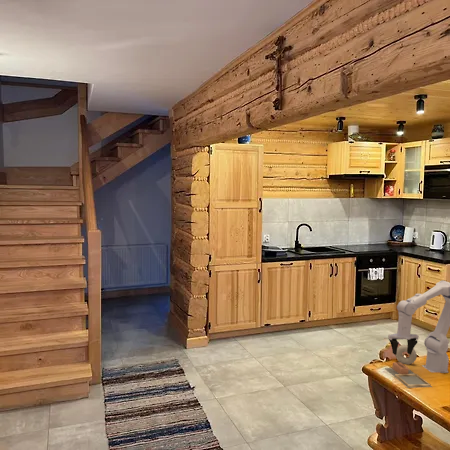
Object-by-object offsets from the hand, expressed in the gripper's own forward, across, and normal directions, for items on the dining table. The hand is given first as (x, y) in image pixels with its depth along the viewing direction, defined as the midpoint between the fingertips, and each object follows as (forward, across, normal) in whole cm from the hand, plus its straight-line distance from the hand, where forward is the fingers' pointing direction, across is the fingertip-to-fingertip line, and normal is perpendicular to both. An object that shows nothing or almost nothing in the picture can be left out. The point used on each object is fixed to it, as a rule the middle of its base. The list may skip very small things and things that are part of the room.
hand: (401, 353), depth 208 cm
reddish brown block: (+9, 0, 0) cm, 9 cm away
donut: (+10, +8, +9) cm, 16 cm away
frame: (+9, 0, -10) cm, 14 cm away
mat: (+9, 0, -6) cm, 11 cm away
